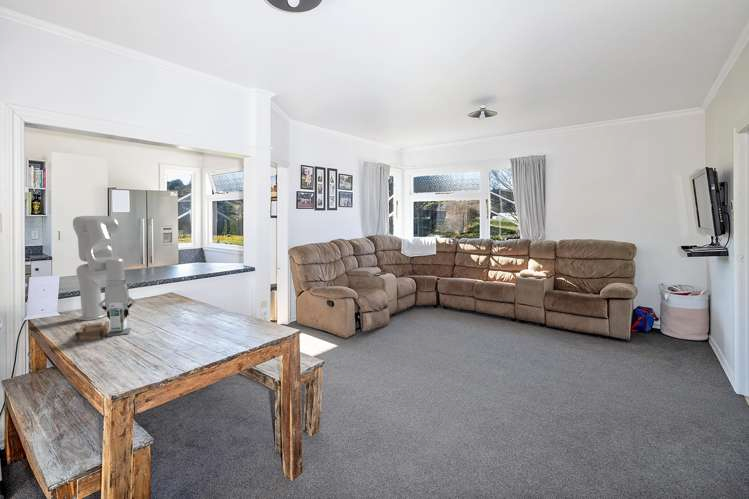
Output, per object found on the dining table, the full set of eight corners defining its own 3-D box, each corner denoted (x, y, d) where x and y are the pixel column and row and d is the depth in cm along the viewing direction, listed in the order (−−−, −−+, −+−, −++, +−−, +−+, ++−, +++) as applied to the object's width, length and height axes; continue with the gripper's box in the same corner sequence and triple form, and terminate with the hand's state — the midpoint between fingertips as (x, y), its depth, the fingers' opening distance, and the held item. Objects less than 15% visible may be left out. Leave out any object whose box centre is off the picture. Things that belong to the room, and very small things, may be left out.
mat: (110, 331, 198) (110, 330, 198) (130, 328, 202) (130, 327, 202) (107, 336, 189) (107, 335, 189) (128, 334, 193) (128, 332, 193)
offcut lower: (89, 332, 196) (88, 327, 196) (103, 331, 199) (102, 325, 198) (86, 335, 192) (86, 329, 191) (101, 334, 194) (100, 328, 194)
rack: (83, 332, 196) (83, 324, 196) (109, 329, 201) (108, 321, 201) (75, 341, 182) (75, 333, 182) (103, 338, 187) (103, 330, 187)
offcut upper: (88, 327, 196) (88, 323, 195) (102, 325, 198) (102, 322, 198) (86, 329, 191) (86, 325, 191) (100, 328, 194) (100, 324, 194)
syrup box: (110, 331, 192) (108, 303, 191) (114, 328, 198) (112, 300, 196) (123, 330, 194) (121, 302, 192) (127, 327, 199) (125, 299, 198)
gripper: (136, 280, 200) (138, 313, 202) (96, 283, 193) (99, 317, 194) (135, 282, 194) (137, 317, 196) (93, 285, 186) (96, 321, 188)
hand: (118, 317), depth 195 cm, fingers closed on syrup box, 6 cm apart
